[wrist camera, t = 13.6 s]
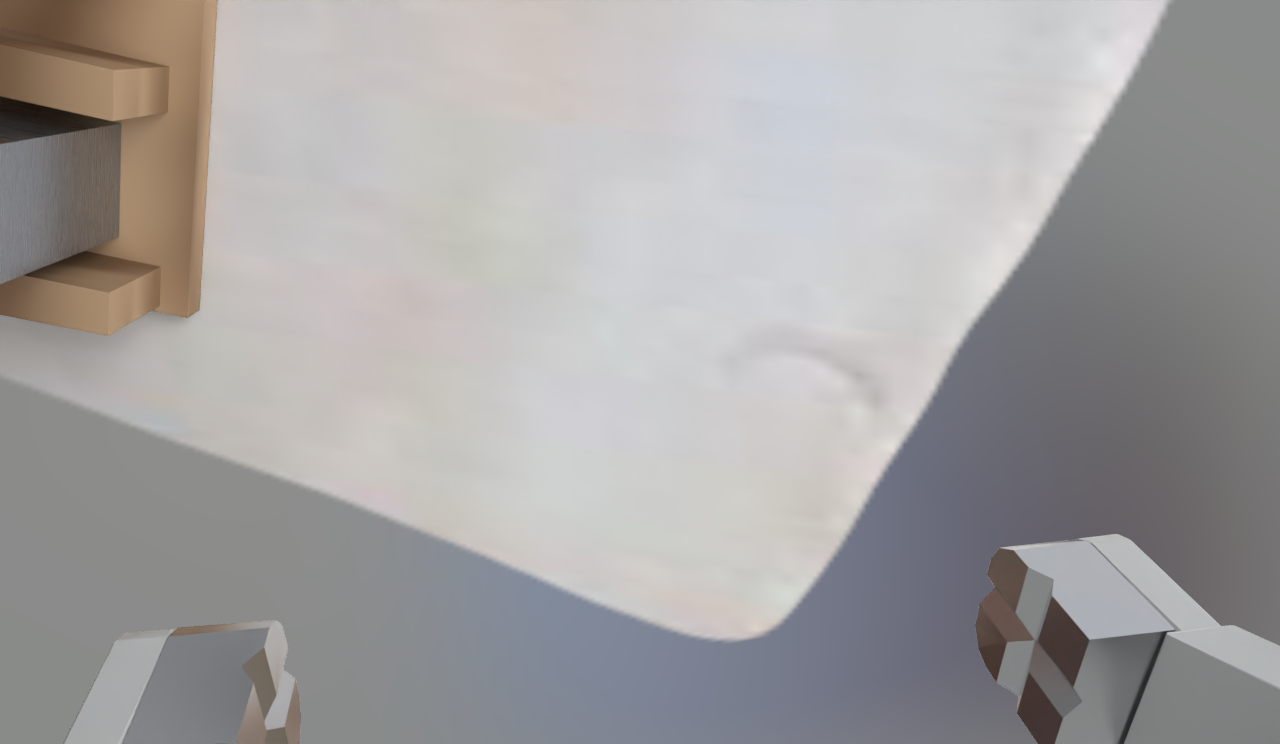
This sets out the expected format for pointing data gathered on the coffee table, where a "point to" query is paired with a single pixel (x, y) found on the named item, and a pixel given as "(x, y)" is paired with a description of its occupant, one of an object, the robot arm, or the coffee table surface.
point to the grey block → (55, 185)
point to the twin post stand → (150, 148)
